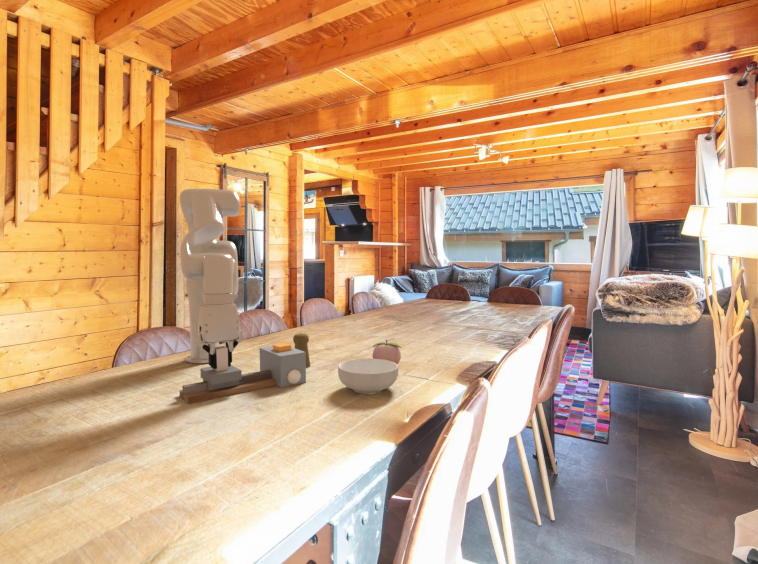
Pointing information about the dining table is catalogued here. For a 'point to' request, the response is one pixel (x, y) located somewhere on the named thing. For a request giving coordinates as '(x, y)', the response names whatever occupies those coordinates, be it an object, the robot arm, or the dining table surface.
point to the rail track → (247, 383)
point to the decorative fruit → (387, 352)
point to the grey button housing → (284, 365)
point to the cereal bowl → (367, 374)
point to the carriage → (221, 372)
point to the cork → (302, 345)
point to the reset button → (281, 347)
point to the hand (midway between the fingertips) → (220, 366)
